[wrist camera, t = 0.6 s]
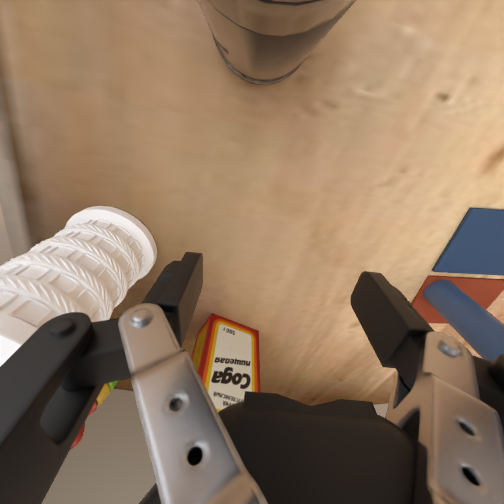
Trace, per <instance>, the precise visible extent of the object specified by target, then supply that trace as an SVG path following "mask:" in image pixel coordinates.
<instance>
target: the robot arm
mask: <svg viewBox="0 0 504 504" xmlns="http://www.w3.org/2000/svg"><path fill="white" fill-rule="evenodd" d="M355 1H356V0H198V2H199V5H200V7H201V9H202V11H203V14H204V16H205V18H206V20H207V22H208V25H209V27H210V29H211V31H212V34H213V36H214V40H215V43H216V45H217V47H218V50H219V52H220V54H221V55H222V57H223V59H224V61H225V62H226V64H227V65H228V66H229V67H230V69H231V70H232V71H233V72H234V73H235V74H237V75H238V76H239V77H241V78H242V79H244V80H246V81H248V82H250V83H254V84H259V85H269V84H274V83H277V82H280V81H282V80H284V79H285V78H287V77H289V76H290V75H291V74H292V73H294V72H295V71H296V70H297V69H298V68H299V66H300V65H301V64H302V63H303V62H304V60H305V59H306V57H307V56H308V55H309V54H310V53H311V51H312V50H313V49H314V48H315V47H316V46H317V44H318V43H319V42H320V41H321V40H322V39H323V38H324V36H325V35H326V34H327V33H328V32H329V31H330V30H331V28H332V27H333V26H334V25H335V24H336V23H337V22H338V20H339V19H340V18H341V17H342V16H343V15H344V13H345V12H346V11H347V10H348V9H349V8H350V7H351V5H352V4H353V3H354V2H355ZM204 20H205V19H204ZM202 283H203V255H202V253H194V252H186V253H185V255H184V257H183V258H182V260H181V261H173V262H171V263H170V264H168V265H167V266H166V267H165V268H164V270H163V271H162V273H161V275H160V276H159V277H158V279H157V281H156V282H155V284H154V285H153V287H152V288H151V290H150V291H149V293H148V294H147V296H146V297H145V299H144V300H143V302H142V303H141V304H139V305H135V306H133V307H131V308H129V309H128V310H126V311H125V312H124V313H123V314H122V315H121V317H120V318H116V319H111V320H104V321H97V322H91V320H90V317H89V316H88V315H87V314H85V313H81V312H71V313H66V314H62V315H59V316H57V317H54V318H52V319H50V320H49V321H47V322H46V323H44V324H43V325H42V326H41V327H39V328H38V329H37V330H36V331H35V332H34V333H33V334H32V335H31V336H30V337H29V338H28V339H27V340H26V341H25V342H24V343H23V344H22V345H21V346H20V347H19V348H18V349H17V350H16V351H15V352H14V353H13V354H12V355H11V356H10V357H9V359H8V360H7V361H6V362H5V363H4V364H3V365H2V366H1V367H0V504H41V503H42V501H43V499H44V498H45V496H46V494H47V492H48V490H49V488H50V486H51V484H52V483H53V481H54V479H55V477H56V475H57V473H58V471H59V469H60V467H61V466H62V464H63V462H64V460H65V458H66V456H67V454H68V452H69V450H70V449H71V447H72V445H73V443H74V441H75V439H76V437H77V435H78V433H79V432H80V430H81V428H82V426H83V424H84V422H85V420H86V418H87V416H88V415H89V413H90V411H91V409H92V407H93V405H94V403H95V401H96V399H97V398H98V396H99V394H100V392H101V390H102V388H103V386H104V384H106V383H110V382H115V381H119V380H123V379H127V378H131V382H132V386H133V390H134V394H135V398H136V402H137V406H138V410H139V414H140V418H141V422H142V427H143V431H144V435H145V439H146V443H147V447H148V451H149V455H150V459H151V463H152V467H153V471H154V476H155V480H156V484H155V485H154V486H153V487H152V488H151V490H150V491H149V492H148V493H147V494H146V496H145V497H144V498H143V499H142V501H141V502H140V503H139V504H504V354H501V355H499V356H498V357H497V358H496V359H495V360H493V361H492V362H491V361H488V360H485V359H482V358H479V357H476V356H473V355H472V354H471V353H470V351H469V350H468V349H467V348H466V347H465V346H464V345H463V344H461V343H460V342H459V341H457V340H456V339H454V338H452V337H451V336H449V335H446V334H444V333H441V332H435V331H434V330H433V329H432V328H431V327H430V325H429V324H428V323H427V322H426V321H425V320H424V318H423V317H422V316H421V315H420V314H419V313H418V311H417V310H416V309H415V308H413V306H412V304H411V303H410V302H409V301H407V299H406V297H405V296H404V295H403V294H402V293H401V292H400V291H399V290H398V289H396V288H395V287H394V286H392V285H391V284H390V283H389V282H388V281H387V280H386V278H385V277H384V276H383V275H382V274H381V273H375V272H366V271H364V272H362V273H361V275H360V277H359V279H358V281H357V284H356V286H355V288H354V290H353V293H352V295H351V306H352V308H353V310H354V312H355V314H356V316H357V318H358V320H359V322H360V324H361V326H362V328H363V329H364V331H365V333H366V335H367V337H368V339H369V341H370V343H371V345H372V347H373V349H374V351H375V353H376V355H377V357H378V358H379V360H380V362H381V364H382V366H383V367H388V368H396V369H397V371H398V372H397V374H396V375H395V376H394V380H393V385H392V390H391V394H390V399H389V404H388V409H387V413H386V416H385V418H384V417H382V416H380V415H377V413H376V411H375V408H374V406H373V403H372V402H366V401H355V400H343V399H341V400H336V401H332V402H328V403H324V404H319V405H315V406H309V405H306V404H303V403H300V402H298V401H295V400H292V399H289V398H287V397H284V396H281V395H279V394H273V393H261V392H250V391H245V394H244V400H243V401H242V402H238V403H235V404H232V405H230V406H228V407H226V408H224V409H222V410H221V411H219V412H217V410H216V408H215V406H214V404H213V402H212V400H211V398H210V396H209V394H208V392H207V390H206V388H205V386H204V384H203V382H202V380H201V378H200V376H199V374H198V372H197V370H196V368H195V366H194V363H193V361H192V359H191V357H190V356H189V354H188V352H187V351H186V350H185V349H184V350H182V349H181V348H182V345H183V342H184V339H185V336H186V333H187V330H188V327H189V324H190V321H191V319H192V316H193V313H194V310H195V307H196V304H197V301H198V298H199V295H200V292H201V289H202Z"/></svg>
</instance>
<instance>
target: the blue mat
mask: <svg viewBox="0 0 504 504" xmlns="http://www.w3.org/2000/svg"><path fill="white" fill-rule="evenodd" d="M432 271H433V272H448V273H467V274H486V275H504V210H498V209H482V208H470V209H469V211H468V213H467V214H466V216H465V217H464V219H463V221H462V222H461V224H460V226H459V227H458V229H457V230H456V232H455V234H454V235H453V237H452V239H451V240H450V242H449V243H448V245H447V247H446V248H445V250H444V252H443V253H442V255H441V256H440V258H439V260H438V261H437V263H436V265H435V266H434V268H433V269H432Z"/></svg>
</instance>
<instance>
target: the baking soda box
mask: <svg viewBox="0 0 504 504" xmlns="http://www.w3.org/2000/svg"><path fill="white" fill-rule="evenodd" d="M192 361H193V363H194V366H195V368H196V370H197V372H198V374H199V376H200V378H201V380H202V382H203V384H204V386H205V388H206V390H207V392H208V394H209V396H210V398H211V400H212V402H213V404H214V406H215V408H216V410H217V412H219V411H221V410H222V409H224V408H226V407H228V406H230V405H232V404H235V403H238V402H242V401H243V400H244V394H245V391H250V392H260V364H259V333H258V331H256V330H254V329H251V328H249V327H246V326H244V325H241V324H238V323H236V322H233V321H231V320H228V319H225V318H223V317H220V316H218V315H215V314H211V316H210V317H209V319H208V320H207V321H206V323H205V324H204V326H203V327H202V329H201V330H200V332H199V333H198V335H197V339H196V343H195V347H194V351H193V355H192Z"/></svg>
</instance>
